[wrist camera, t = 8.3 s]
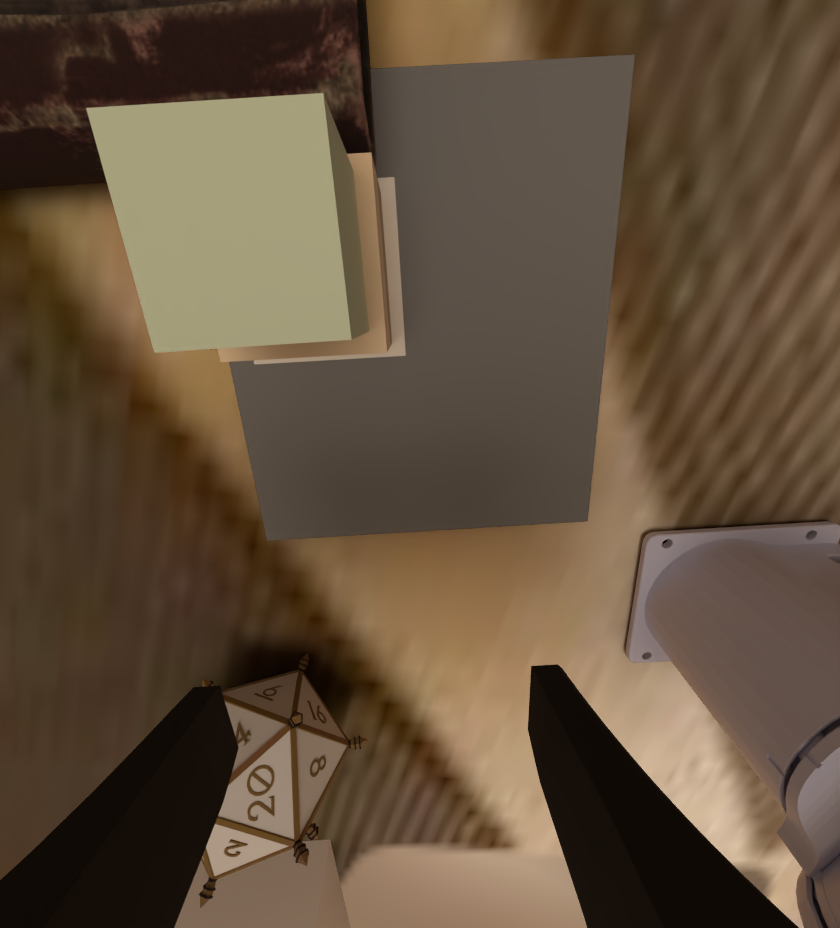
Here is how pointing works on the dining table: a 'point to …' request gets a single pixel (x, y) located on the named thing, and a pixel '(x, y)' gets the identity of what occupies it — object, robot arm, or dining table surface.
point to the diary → (166, 70)
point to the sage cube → (236, 220)
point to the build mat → (462, 314)
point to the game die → (274, 773)
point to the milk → (271, 894)
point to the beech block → (373, 279)
